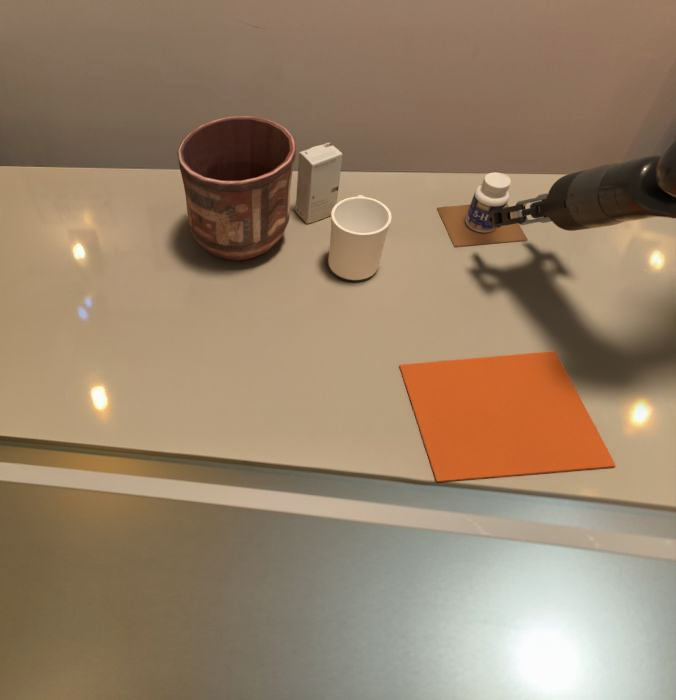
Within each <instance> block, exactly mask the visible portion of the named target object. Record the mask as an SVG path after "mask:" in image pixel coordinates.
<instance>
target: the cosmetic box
mask: <svg viewBox="0 0 676 700" xmlns="http://www.w3.org/2000/svg"><path fill="white" fill-rule="evenodd" d="M343 156H344V155H343V152H341V150H339V149H338V148H336V147H335V146H334V145H333V144H332V143H331V142H326V143H323V144H320V145H315V146H312V147H310V148H308V149H304V150H302V151H299V154H298V164H297V165H298V166H297V180H296V181H297V183H296V196H295V197H296V199H295V213H296V214H297V215H298V216H299V217H300V219H302V221H303V222H304V223H305V224H311V223H315V222H318V221H320V220H323V219H326V218H329V217H331V213H332V209H333V208H334V206H335V205H336V204H337V203H338V196H339V186H340V180H341V171H342V163H343Z"/></svg>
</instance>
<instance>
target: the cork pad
mask: <svg viewBox="0 0 676 700" xmlns="http://www.w3.org/2000/svg"><path fill="white" fill-rule="evenodd" d="M470 205H471V204H461V205H450V206H438V207H436V210H437V213H438V214H439V217H440V219H441V221H442V223H443V225H444V228H445V230H446V232H447V234H448V236H449V237H450V241H451V242H452V245H453V247H454V248H462V247H474V246H483V245H494V244H496V245H497V244H507V243H517V242H527V241H528V238H527V236H526V234H525V232H524V230H523V228H522V227H521V225H520V224H519V223H516V224H511V225H508V226H506V225H505V226H500V227H499V228H496V229H495V230H493V231H491V232H487V233H482V232H477V231H474V230H472V229H471V228H469V227H468V226H467V224H466V221H465V220H466V216H467V213H468V210H469V207H470ZM506 207H510V206H509V205H508V203H507V205H506Z"/></svg>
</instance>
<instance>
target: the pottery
mask: <svg viewBox="0 0 676 700" xmlns="http://www.w3.org/2000/svg"><path fill="white" fill-rule="evenodd" d="M296 155H297V146H296V139H295V137H294V136H293V135H292V133H291V132H290V131H289V130H288V129H287V128H286V126H283V125H281V124H279V123H277V122H275V121H272V120H271V119H266V118H260V117H258V116H257V117H256V116H252V115H251V116H250V115H249V116H248V115H247V116H228V117H223V118H218V119H214V120H211V121H209V122H206V123H204V124H201V125H199V126H198V127H196V128H195V129H193V130H191V131H190V132H189V133H188V134H187V135H186V136H185V137H184V139H182V141H181V142H180V144H179V146H178V149H177V160H178V165H179V172H180V176H181V179H182V183H183V188H184V195H185V203H186V204H185V205H186V213H187V219H188V224H189V229H190V231H191V234H192V235H193V237H194V238H195V240H196V241H197V243H198V244H199V245H200V246H201V248H202V249H204V250H205V251H207V252H208V253H209V254H212V255H213V256H215V257H218V258H221V259H224V260H227V261H245V260H251V259H253V258H254V259H255V258H256V257H258V256H260V255H263V254H265V253H267V252H268V251H269V250H270V249H271V248H273V247H274V246H275V245H276V244H277V243H278V242H279V241H280V240H281V239H282V237H283V235H284V233H285V231H286V229H287V227H288V225H289V221H290V215H291V186H292V178H293V172H294V167H295V162H296Z"/></svg>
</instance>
